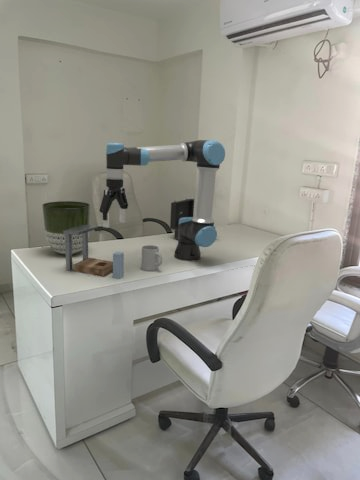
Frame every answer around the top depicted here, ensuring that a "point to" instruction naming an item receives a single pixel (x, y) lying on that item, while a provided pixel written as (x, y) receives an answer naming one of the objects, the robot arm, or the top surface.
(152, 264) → the mug
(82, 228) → the grey arch frame
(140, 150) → the robot arm
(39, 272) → the top surface
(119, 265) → the peg
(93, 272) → the socket block
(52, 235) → the planter
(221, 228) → the top surface
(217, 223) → the top surface
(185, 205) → the watch box
